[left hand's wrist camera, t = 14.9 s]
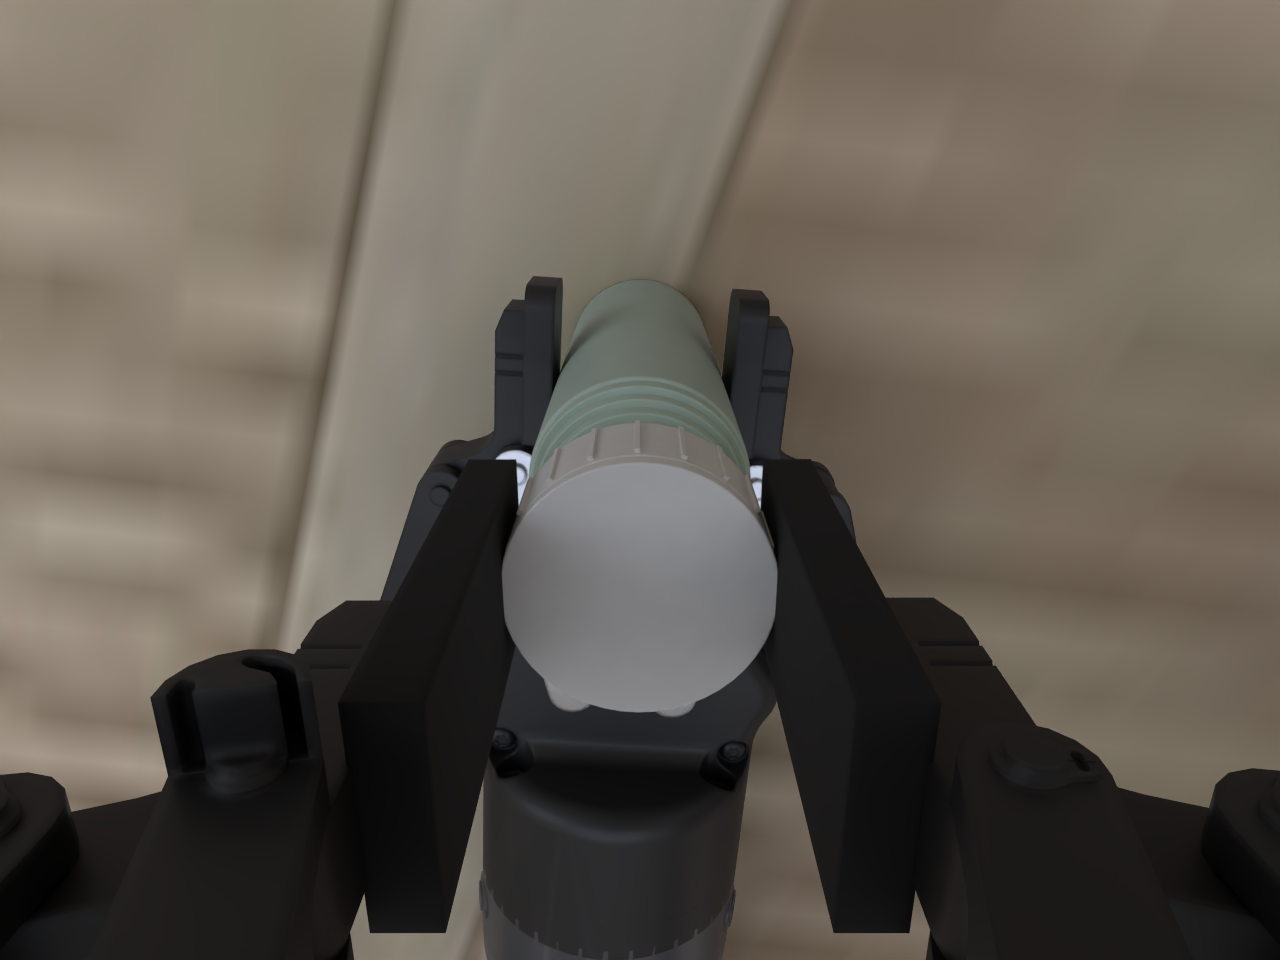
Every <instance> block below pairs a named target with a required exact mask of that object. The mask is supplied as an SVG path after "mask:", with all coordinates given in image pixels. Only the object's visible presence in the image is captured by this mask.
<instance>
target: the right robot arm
mask: <svg viewBox="0 0 1280 960" xmlns="http://www.w3.org/2000/svg"><path fill="white" fill-rule="evenodd" d="M562 297H563V281H562V278H554V277H539V276H533V277H532V278H531V280H530V281H529V282H528V283H527V286H526V291H525V300H514V299H512V301H511V302H510V303H509V304H508V306H507V307H506V308H505V309H504V311H503V314H502V316H501V318H500V321H499V323H498V326H497V328H496V330H495V424H494V431H493V432H492V433H490V434H489V435H487V436H484V437H482V438H478V439H474V440H471V441H464V440H453V441H450V442H448V443H446V444H445V445H444V446H443V447H442V448H441V449H440V451H439V452H438V454H437V455H436V457H435V458H434V460H433V461H432V463H431V464H430V466H429V468H428V469H427V471H426V472H425V474H424V475H423V477H422V478H421V480H420V482H419V483H418V486H417V488H416V491H415V495H414V498H413V501H412V504H411V507H410V510H409V513H408V516H407V519H406V522H405V525H404V529H403V532H402V535H401V538H400V541H399V544H398V547H397V550H396V553H395V556H394V559H393V562H392V566H391V569H390V572H389V575H388V578H387V581H386V584H385V587H384V590H383V593H382V596H381V599H380V601H393V599H394V597H395V595H396V593H397V591H398V589H399V588H400V586H401V584H402V582H403V580H404V578H405V576H406V575H407V573H408V571H409V569H410V567H411V565H412V563H413V562H414V560H415V558H416V556H417V554H418V552H419V550H420V549H421V547H422V545H423V543H424V541H425V539H426V537H427V536H428V534H429V532H430V530H431V528H432V526H433V524H434V523H435V521H436V519H437V517H438V515H439V513H440V511H441V510H442V508H443V506H444V504H445V502H446V500H447V498H448V497H449V495H450V493H451V491H452V489H453V487H454V485H455V484H456V482H457V480H458V478H459V476H460V474H461V472H462V470H463V469H464V467H465V465H466V463H467V461H468V459H516V462H517V481H518V500H519V504H520V501H521V498H522V495H523V492H524V489H525V486H526V483H527V480H528V479H529V468H530V461H531V457H532V452H533V449H534V446H535V443H536V440H537V438H538V435H539V432H540V429H541V426H542V423H543V420H544V417H545V415H546V412H547V409H548V406H549V403H550V400H551V397H552V395H553V392H554V389H555V386H556V383H557V380H558V377H559V374H560V355H561V326H562ZM769 314H770V306H769V300H768V298H767V297H766V296H765V295H764V293H763V292H762V291H756V290H742V289H733V290H732V293H731V298H730V306H729V315H728V325H727V335H726V344H725V354H724V364H723V374H722V381H723V384H724V387H725V389H726V392H727V395H728V398H729V401H730V404H731V407H732V410H733V413H734V416H735V418H736V421H737V424H738V427H739V430H740V433H741V436H742V439H743V442H744V444H745V447H746V451H747V455H748V459H749V463H750V473H751V482H752V485H753V488H754V491H755V494H756V497H757V501H758V504H759V507H760V509H761V489H762V470H763V459H795V458H793V457H790V456H788V455H786V454H785V453H783V452H782V451H781V440H782V432H783V425H784V417H785V409H786V402H787V394H788V393H787V391H788V386H789V379H790V371H791V363H792V355H793V347H792V343H791V339H790V336H789V332H788V328H787V327H786V325H785V324H784V323H783V322H782V320H781V319H780V318H779V317H777V316H769ZM812 462H813V464H814V466H815V468H816V470H817V472H818V473H819V475H820V477H821V479H822V481H823V483H824V485H825V486H826V488H827V490H828V492H829V494H830V496H831V498H832V499H833V501H834V503H835V505H836V507H837V509H838V511H839V512H840V514H841V516H842V518H843V520H844V522H845V524H846V526H847V527H848V529H849V531H850V533H851V535H852V537H853V539H854V540H855V542H856V539H855V533H854V527H853V521H852V516H851V511H850V508H849V506H848V504H847V502H846V500H845V498H844V497H843V496H842V494H840V493H839V492H838V490H837V488H836V487H835V483H834V480H833V478H832V476H831V474H830V472H829V470H828V469H827V468H826V467H825V466H824V465H822V464H821V463H818V462H815V461H812ZM776 701H777V699H776V695H775V691H774V686H773V682H772V678H771V674H770V670H769V666H768V662H767V658H766V654H765V650H764V646H763V647H762V648H761V650H760V651H759V653H758V654H757V656H756V657H755V658H754V660H753V661H752V662H751V663H750V664H749V665H748V667H747V668H746V669H745V670H744V671H743V672H742V673H741V674H739V675H738V676H737V677H736V678H735V679H734V680H733V681H731V682H730V683H729V684H727V685H726V686H724V687H723V688H722V689H720V690H719V691H717V692H715V693H713V694H711V695H709V696H707V697H706V698H703V699H701V700H698V701H696V702H693V703H691V704H688V705H685V706H681V707H677V708H674V709H668V710H662V711H656V712H625V711H617V710H611V709H606V708H601V707H598V706H595V705H591V704H588V703H585V702H583V701H581V700H578V699H576V698H574V697H571V696H570V695H568V694H566V693H564V692H563V691H561V690H559V689H557V688H556V687H555V686H553V685H552V684H551V683H549V682H548V681H547V680H545V679H544V678H543V677H542V676H541V675H540V674H539V673H538V672H537V671H535V670H534V669H533V668H532V667H531V665H530V664H529V663H528V662H527V660H526V659H525V658H524V657H523V656H522V654H521V653H520V651H519V650H518V648H517V646H516V647H515V652H514V656H513V660H512V664H511V668H510V672H509V676H508V680H507V684H506V688H505V692H504V696H503V701H502V705H501V709H500V713H499V717H498V721H497V725H496V729H495V733H494V737H493V741H492V745H491V750H490V754H489V758H488V762H487V766H486V770H485V774H484V797H483V871H482V873H481V880H480V881H479V900H480V909H481V910H482V913H483V932H484V944H485V951H486V957H487V960H721V959H722V955H723V951H724V945H725V940H726V933H727V929H728V927H730V924H731V920H732V914H733V908H734V902H735V894H736V890H734V884H733V883H734V875H735V868H736V860H737V853H738V845H739V837H740V830H741V822H742V815H743V807H744V800H745V792H746V785H747V777H748V770H749V763H750V756H751V748H752V742H753V739H754V736H755V734H756V732H757V730H758V728H759V727H760V725H761V724H762V722H763V721H764V720H765V719H766V718H767V717H768V715H769V714H770V713H771V712H772V710H773V708H774V706H775V704H776Z"/></svg>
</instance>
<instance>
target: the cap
mask: <svg viewBox="0 0 1280 960" xmlns="http://www.w3.org/2000/svg"><path fill="white" fill-rule="evenodd" d="M516 514H517V516H516V519H515V522H514V525H513V528H512V531H511V534H510V537H509V541H508V544H507V547H506V550H505V554H504V557H503V561H502V585H503V602H504V617H505V623H506V626H507V628H508V631H509V633H510V635H511V637H512V640H513V641H514V643H515V645H516V646H517V648H518V650H519V651H520V653H521V654H522V656H523V657H524V658H525V659H526V660H527V662H528V663H529V664H530V665H531V667H532V668H533V669H534V670H535V671H537V672H538V673H539V674H540V675H541V676H542V677H543V678H544V679H545V680H547V681H548V682H549V683H551V684H552V685H553V686H555V687H556V688H557V689H559V690H561V691H563V692H564V693H566V694H568V695H570V696H571V697H574V698H576V699H578V700H581V701H583V702H585V703H588V704H591V705H595V706H598V707H601V708H606V709H611V710H617V711H625V712H656V711H662V710H668V709H674V708H677V707H681V706H685V705H688V704H691V703H693V702H696V701H698V700H701V699H703V698H706V697H707V696H709V695H711V694H713V693H715V692H717V691H719V690H720V689H722V688H723V687H724V686H726V685H727V684H729V683H730V682H731V681H733V680H734V679H735V678H736V677H737V676H738V675H739V674H741V673H742V672H743V671H744V670H745V669H746V668H747V667H748V665H749V664H750V663H751V662H752V661H753V660H754V658H755V657H756V656H757V654H758V653H759V651H760V650H761V648H762V647H763V645H764V643H765V642H766V640H767V638H768V635H769V633H770V631H771V629H772V627H773V623H774V620H775V609H776V592H777V574H778V565H777V560H776V557H775V554H774V544H773V541H772V538H771V535H770V532H769V529H768V526H767V523H766V520H765V517H764V514H763V511H761V510H760V507H759V504H758V501H757V497H756V494H755V491H754V488H753V485H752V482H751V479H750V477H749V476H748V474H747V475H745V476H744V475H743V473H742V472H741V470H740V469H739V468H738V467H737V466H736V465H735V464H734V462H733V461H732V460H731V459H730V458H729V457H727V456H726V455H725V454H724V453H723V450H722V447H720V446H719V445H717V446H716V447H715V446H714V445H712V444H711V443H709V442H708V441H706V440H704V439H702V438H700V437H698V436H696V435H694V434H692V433H690V432H687V431H684V427H680V426H679V427H678V428H675V427H670V426H665V425H660V424H650V423H640V420H635V423H628V424H620V425H614V426H609V427H605V428H602V429H599V430H598V429H597V427H596V428H593V429H592V430H591V432H590V433H588V434H585V435H583V436H581V437H579V438H577V439H575V440H573V441H572V442H570V443H569V444H567V445H566V446H564V447H562V448H561V449H560V448H559V447H558V448H556V449H555V450H554V453H553V456H552V457H550V458H549V459H548V461H547V462H546V463H545V464H544V465H543V466H542V467H541V468H540V469H539V471H538V472H537V474H536V475H535V477H534V478H533V479H532V478H531V477H529V479H528V480H527V483H526V486H525V489H524V492H523V495H522V498H521V501H520V504H519V507H518V510H517V513H516Z"/></svg>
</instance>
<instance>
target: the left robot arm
mask: <svg viewBox="0 0 1280 960" xmlns="http://www.w3.org/2000/svg"><path fill="white" fill-rule="evenodd" d="M518 507H519V500H518V481H517V462H516V459H468V461H467V463H466V465H465V467H464V469H463V470H462V472H461V474H460V476H459V478H458V480H457V482H456V484H455V485H454V487H453V489H452V491H451V493H450V495H449V497H448V498H447V500H446V502H445V504H444V506H443V508H442V510H441V511H440V513H439V515H438V517H437V519H436V521H435V523H434V524H433V526H432V528H431V530H430V532H429V534H428V536H427V537H426V539H425V541H424V543H423V545H422V547H421V549H420V550H419V552H418V554H417V556H416V558H415V560H414V562H413V563H412V565H411V567H410V569H409V571H408V573H407V575H406V576H405V578H404V580H403V582H402V584H401V586H400V588H399V589H398V591H397V593H396V595H395V597H394V599H393V601H345V602H344V603H342V604H341V605H339V606H338V607H336V608H335V609H333V610H332V611H330V612H329V613H327V614H326V615H325V616H323V617H322V618H320V619H319V620H317V621H316V623H315V624H314V626H313V627H312V629H311V630H310V631H309V633H308V634H307V636H306V637H305V639H304V640H303V642H302V643H301V649H297V651H296V652H295V654H291V653H287V652H283V651H279V650H275V649H265V650H243V651H237V652H232V653H227V654H221V655H217V656H214V657H212V658H209V659H206V660H204V661H201V662H198V663H195V664H193V665H190V666H188V667H186V668H185V669H183V670H182V671H180V672H178V673H177V674H175V675H174V676H172V677H170V678H169V679H167V680H165V682H164V683H163V684H162V685H161V686H160V687H159V688H158V689H157V691H156V692H155V693H154V694H153V695H152V696H151V697H150V698H151V702H152V707H153V711H154V716H155V720H156V724H157V729H158V733H159V737H160V742H161V746H162V751H163V755H164V759H165V764H166V768H167V773H168V778H167V780H166V783H165V785H164V787H163V789H162V791H161V792H158V793H154V794H150V795H147V796H143V797H139V798H136V799H131V800H126V801H121V802H117V803H112V804H107V805H102V806H98V807H93V808H88V809H83V810H79V811H74V812H71V809H70V806H69V802H68V798H67V795H66V791H65V788H64V787H62V786H61V785H60V784H59V783H58V782H57V781H56V780H55V779H53V778H52V777H49V776H44V775H39V774H33V773H28V772H27V773H17V774H6V775H0V960H354V956H353V949H352V942H351V935H350V930H351V928H352V925H353V922H354V920H355V917H356V914H357V911H358V909H359V906H360V903H361V900H362V898H363V895H364V893H365V900H366V908H367V915H368V922H369V929H370V933H446V929H447V925H448V921H449V917H450V913H451V909H452V905H453V901H454V897H455V892H456V888H457V884H458V880H459V876H460V872H461V868H462V864H463V860H464V856H465V852H466V848H467V843H468V839H469V835H470V831H471V827H472V823H473V819H474V815H475V811H476V807H477V803H478V799H479V794H480V790H481V786H482V782H483V778H484V774H485V770H486V766H487V762H488V758H489V754H490V750H491V745H492V741H493V737H494V733H495V729H496V725H497V721H498V717H499V713H500V709H501V705H502V701H503V696H504V692H505V688H506V684H507V680H508V676H509V672H510V668H511V664H512V660H513V656H514V652H515V647H516V645H515V643H514V641H513V640H512V637H511V635H510V633H509V631H508V628H507V626H506V623H505V617H504V602H503V585H502V561H503V557H504V554H505V550H506V547H507V544H508V541H509V537H510V534H511V531H512V528H513V525H514V522H515V519H516V516H517V514H516V513H517V510H518ZM760 510H761V511H763V514H764V517H765V520H766V523H767V526H768V529H769V532H770V535H771V538H772V541H773V544H774V554H775V557H776V560H777V565H778V574H777V592H776V609H775V620H774V623H773V627H772V629H771V631H770V633H769V635H768V638H767V640H766V642H765V643H764V645H763V646H764V650H765V654H766V658H767V662H768V666H769V670H770V674H771V678H772V682H773V686H774V691H775V695H776V699H777V703H778V707H779V711H780V715H781V719H782V723H783V727H784V731H785V735H786V740H787V744H788V748H789V752H790V756H791V760H792V764H793V768H794V772H795V776H796V780H797V785H798V789H799V793H800V797H801V801H802V805H803V809H804V813H805V817H806V821H807V825H808V829H809V834H810V838H811V842H812V846H813V850H814V854H815V858H816V862H817V866H818V870H819V874H820V879H821V883H822V887H823V891H824V895H825V899H826V903H827V907H828V911H829V915H830V919H831V923H832V928H833V932H834V933H909V932H910V925H911V918H912V910H913V903H914V896H915V889H916V892H917V895H918V898H919V900H920V903H921V906H922V908H923V911H924V914H925V917H926V919H927V922H928V925H929V927H930V935H929V942H928V949H927V955H926V960H1280V771H1276V770H1265V769H1254V768H1252V769H1246V770H1241V771H1236V772H1231V773H1228V774H1227V775H1226V776H1225V777H1223V778H1222V779H1221V780H1220V781H1219V782H1218V783H1217V784H1216V785H1215V789H1214V792H1213V796H1212V799H1211V803H1210V807H1209V808H1206V807H1201V806H1196V805H1192V804H1187V803H1182V802H1177V801H1172V800H1168V799H1163V798H1158V797H1153V796H1148V795H1144V794H1140V793H1136V792H1133V791H1129V790H1125V789H1122V788H1118V787H1117V786H1116V783H1115V781H1114V779H1113V777H1112V775H1111V773H1110V772H1109V771H1108V769H1107V768H1106V767H1105V765H1104V764H1103V763H1102V761H1101V760H1100V758H1099V757H1098V756H1097V755H1095V754H1094V753H1092V752H1091V751H1090V750H1088V749H1087V748H1085V747H1084V746H1083V745H1081V744H1080V743H1079V742H1077V741H1076V740H1074V739H1071V738H1069V737H1067V736H1064V735H1062V734H1060V733H1057V732H1055V731H1053V730H1050V729H1048V728H1043V727H1039V726H1036V724H1035V723H1034V722H1033V720H1032V719H1031V717H1030V716H1029V714H1028V713H1027V711H1026V710H1025V708H1024V707H1023V705H1022V704H1021V702H1020V701H1019V699H1018V698H1017V696H1016V695H1015V694H1014V692H1013V691H1012V689H1011V688H1010V686H1009V685H1008V683H1007V682H1006V680H1005V679H1004V677H1003V676H1002V674H1001V673H1000V671H999V670H998V668H997V667H996V666H993V665H992V660H991V658H990V657H989V655H988V654H987V652H986V651H985V649H984V648H983V646H979V640H978V639H977V638H976V636H975V635H974V633H973V632H972V630H971V629H970V627H969V626H968V624H967V623H966V621H965V620H964V618H963V617H961V616H960V615H958V614H957V613H955V612H954V611H952V610H951V609H949V608H948V607H946V606H945V605H943V604H942V603H940V602H939V601H937V600H936V599H934V598H885V596H884V594H883V592H882V591H881V589H880V587H879V585H878V583H877V581H876V579H875V578H874V576H873V574H872V572H871V570H870V568H869V566H868V565H867V563H866V561H865V559H864V557H863V555H862V553H861V552H860V550H859V548H858V546H857V544H856V542H855V540H854V539H853V537H852V535H851V533H850V531H849V529H848V527H847V526H846V524H845V522H844V520H843V518H842V516H841V514H840V512H839V511H838V509H837V507H836V505H835V503H834V501H833V499H832V498H831V496H830V494H829V492H828V490H827V488H826V486H825V485H824V483H823V481H822V479H821V477H820V475H819V473H818V472H817V470H816V468H815V466H814V464H813V462H812V460H811V459H763V470H762V489H761V509H760Z"/></svg>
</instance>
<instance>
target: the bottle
mask: <svg viewBox="0 0 1280 960" xmlns="http://www.w3.org/2000/svg"><path fill="white" fill-rule="evenodd" d="M635 420H640V423H650V424H660V425H665V426H670V427H675V428H678V427H679V426H680V427H684V431H687V432H690V433H692V434H694V435H696V436H698V437H700V438H702V439H704V440H706V441H708V442H709V443H711V444H712V445H714V446H715V447H716V446H717V445H719V446H720V447H722V450H723V453H724V454H725V455H726V456H727V457H729V458H730V459H731V460H732V461H733V462H734V464H735V465H736V466H737V467H738V468H739V469H740V470H741V472H742V473H743V475H744V476H745V475H747V474H748V476H749V477H750V479H751V473H750V463H749V459H748V455H747V451H746V447H745V444H744V442H743V439H742V436H741V433H740V430H739V427H738V424H737V421H736V418H735V416H734V413H733V410H732V407H731V404H730V401H729V398H728V395H727V392H726V389H725V387H724V384H723V381H722V378H721V375H720V372H719V369H718V366H717V363H716V361H715V358H714V355H713V352H712V349H711V346H710V343H709V340H708V337H707V334H706V332H705V329H704V326H703V323H702V321H701V318H700V316H699V314H698V313H697V311H696V309H695V308H694V306H693V305H692V304H691V302H690V301H689V300H688V299H687V298H686V297H685V296H683V295H682V294H681V293H680V292H678V291H677V290H675V289H673V288H672V287H670V286H668V285H665V284H663V283H660V282H656V281H651V280H629V281H624V282H620V283H617V284H615V285H612V286H610V287H608V288H607V289H605V290H603V291H602V292H600V293H599V294H598V295H597V296H595V297H594V298H593V299H592V300H591V301H590V303H589V304H588V305H587V306H586V308H585V309H584V311H583V312H582V314H581V316H580V318H579V321H578V323H577V326H576V329H575V332H574V334H573V337H572V340H571V343H570V346H569V349H568V352H567V354H566V357H565V360H564V363H563V366H562V369H561V372H560V374H559V377H558V380H557V383H556V386H555V389H554V392H553V395H552V397H551V400H550V403H549V406H548V409H547V412H546V415H545V417H544V420H543V423H542V426H541V429H540V432H539V435H538V438H537V440H536V443H535V446H534V449H533V452H532V457H531V461H530V468H529V477H531V478H532V479H533V478H534V477H535V475H536V474H537V472H538V471H539V469H540V468H541V467H542V466H543V465H544V464H545V463H546V462H547V461H548V459H549V458H550V457H552V456H553V453H554V450H555V449H556V448H558V447H559V448H560V449H561V448H562V447H564V446H566V445H567V444H569V443H570V442H572V441H573V440H575V439H577V438H579V437H581V436H583V435H585V434H588V433H590V432H591V430H592V429H593V428H596V427H597V429H598V430H599V429H602V428H605V427H609V426H614V425H620V424H628V423H635Z"/></svg>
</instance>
